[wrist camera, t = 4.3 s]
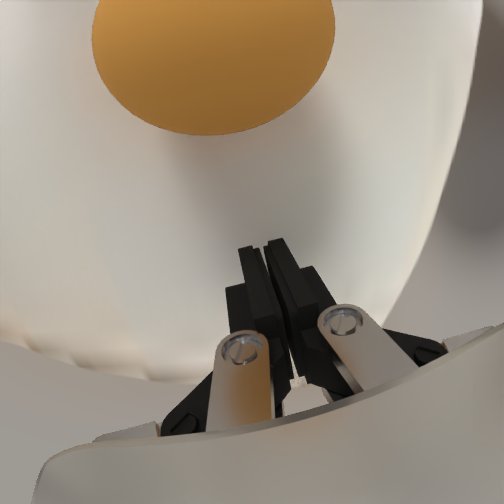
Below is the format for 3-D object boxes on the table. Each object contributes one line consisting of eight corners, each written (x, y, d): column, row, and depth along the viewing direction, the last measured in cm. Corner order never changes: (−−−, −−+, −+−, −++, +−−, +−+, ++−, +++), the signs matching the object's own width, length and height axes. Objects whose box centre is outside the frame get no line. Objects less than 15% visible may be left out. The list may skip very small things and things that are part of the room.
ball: (149, 150, 10) (82, 195, 4) (116, 10, 7) (43, -58, 1) (309, 112, 10) (411, 120, 4) (275, -24, 7) (333, -111, 2)
